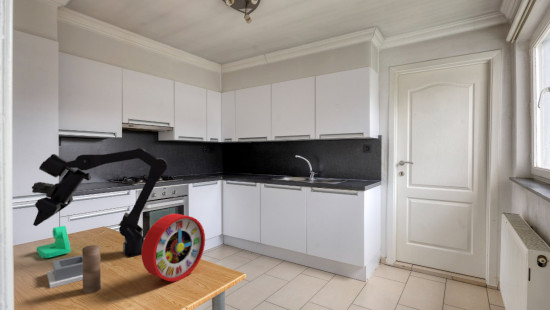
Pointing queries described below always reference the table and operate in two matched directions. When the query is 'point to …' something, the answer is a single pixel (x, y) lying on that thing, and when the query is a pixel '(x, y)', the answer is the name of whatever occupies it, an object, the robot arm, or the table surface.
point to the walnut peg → (91, 269)
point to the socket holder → (66, 271)
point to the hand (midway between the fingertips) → (40, 222)
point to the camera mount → (56, 244)
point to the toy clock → (173, 247)
